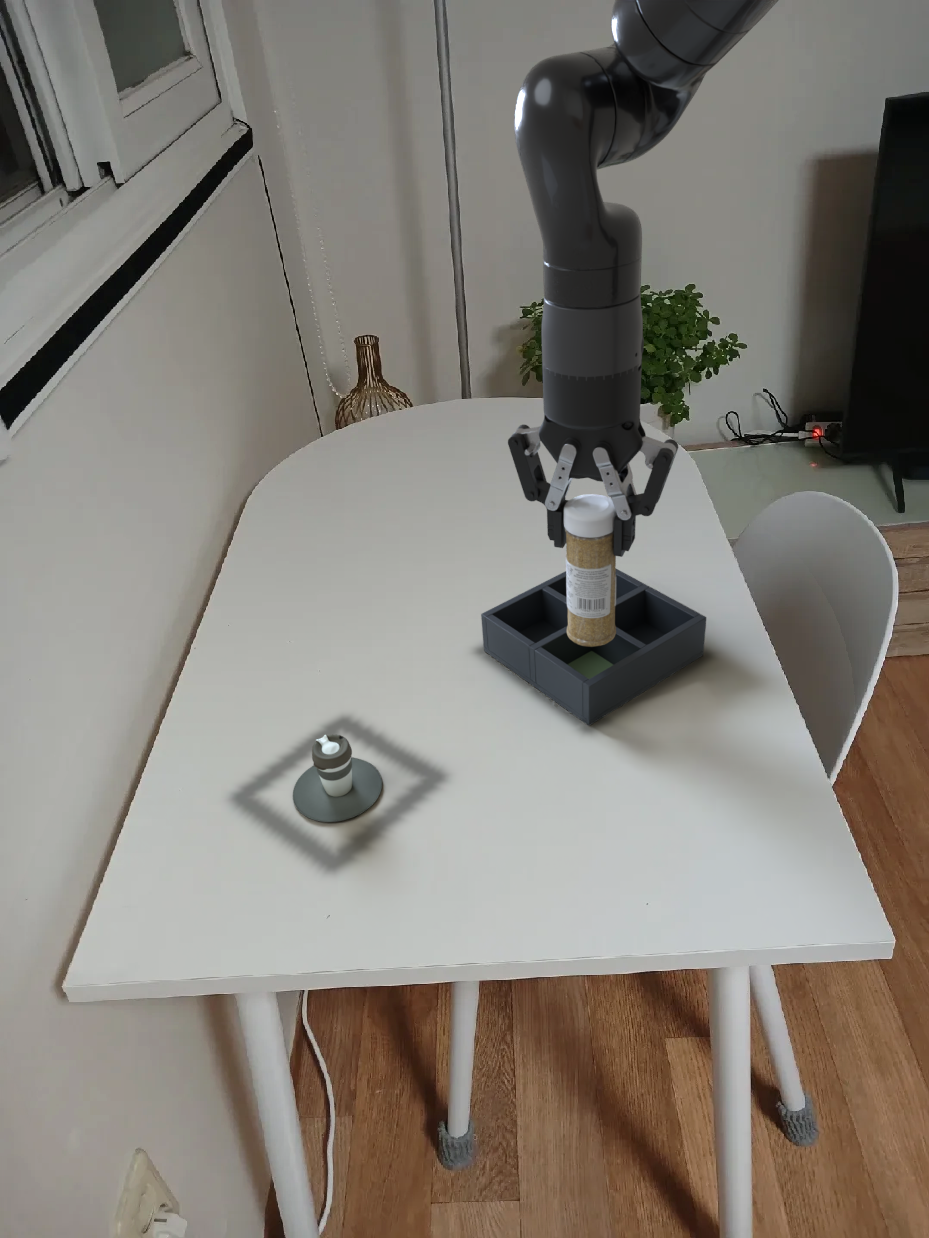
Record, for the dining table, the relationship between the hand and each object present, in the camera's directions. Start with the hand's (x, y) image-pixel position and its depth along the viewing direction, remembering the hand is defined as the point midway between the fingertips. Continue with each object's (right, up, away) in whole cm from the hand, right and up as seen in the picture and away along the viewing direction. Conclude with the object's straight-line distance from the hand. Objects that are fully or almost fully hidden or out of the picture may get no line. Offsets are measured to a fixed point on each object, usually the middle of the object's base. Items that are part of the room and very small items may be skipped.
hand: (591, 546), depth 82 cm
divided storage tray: (+2, -10, +13) cm, 16 cm away
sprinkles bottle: (+1, -8, +5) cm, 10 cm away
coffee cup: (-22, -21, 0) cm, 30 cm away
